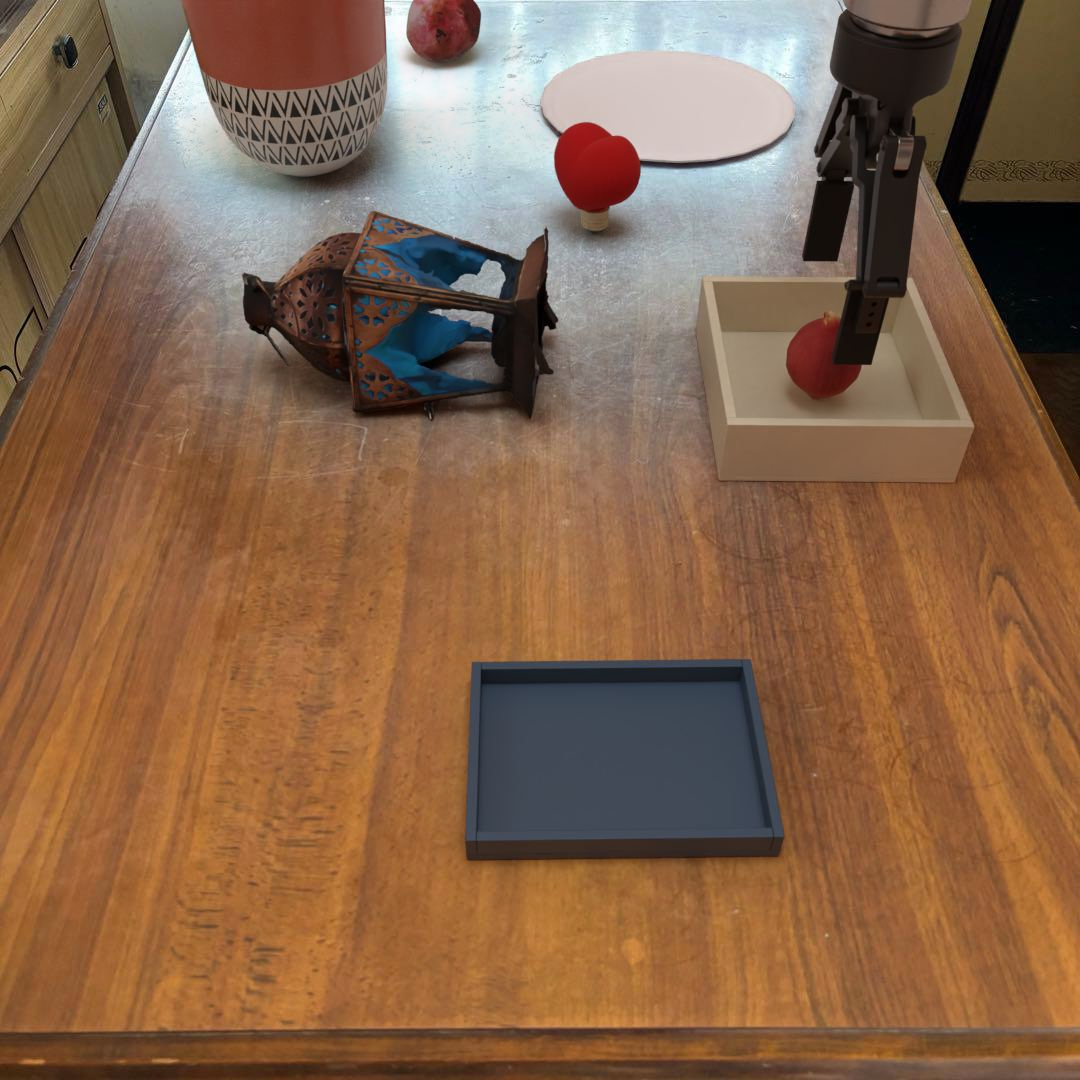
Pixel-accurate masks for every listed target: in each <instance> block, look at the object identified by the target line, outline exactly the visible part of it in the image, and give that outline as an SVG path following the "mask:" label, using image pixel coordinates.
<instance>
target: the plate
mask: <svg viewBox="0 0 1080 1080" xmlns="http://www.w3.org/2000/svg"><path fill="white" fill-rule="evenodd" d="M542 90H543V91H542V94H541V97H540V101H539V102H540V107H541V110H542V113H543V116H544V118H545V120H546V121H547V122H548V123H549V124H550V125H551V126H552V127H553V128H554V130H556V131H557V132H558V133H559V134H561V135H562V134H563V133H564V132H565V130H566V129H568V128H569V127H571V126H573V125H574V124H578V123H582V122H591V123H595V124H597V125H599V126H601V127H602V128H604V129H605V130H606V131H608V132H609V133H610V134H611V135H612V136H623V137H625V138H626V139H628V140H629V141H630V142H631V143H632V145H633V146H634V148H635V149H636V151H637V154H638V157H639V160H640V162H641V161H642V162H653V163H654V162H655V163H657V162H658V163H672V164H673V163H674V164H684V163H699V162H701V163H702V162H703V163H704V162H714V161H718V160H725V159H729V158H734V157H739V156H744V155H747V154H750V153H751V152H754V151H756V150H759V149H761V148H764V147H766V146H770V145H771V144H773V143H774V142H775V141H776V140H778V139H779V138H781V137H782V136H783V135H784V134H786V133H787V132H788V130H789V129H790V127H791V125H792V123H793V122H794V120H795V118H796V110H795V109H796V108H795V101H794V99H793V98H792V96H791V95H790V93H789V92H788V90H787V89H786V87H785V86H783V85H782V84H781V83H779V82H778V81H777V80H775V79H774V78H773V77H771V75H769V74H767V73H765V72H762V71H760V70H759V69H756V68H754V67H752V66H749V65H747V64H745V63H742V62H738V61H735V60H731V59H728V58H724V57H721V56H717V55H711V54H705V53H699V52H693V51H682V50H663V49H662V50H661V49H653V50H632V51H623V52H618V53H611V54H606V55H600V56H597V57H593V58H590V59H588V60H584V61H582V62H577V63H575V64H573V65H572V66H570V67H568V68H566V69H565V70H562V71H560V72H558V73H556V75H554V77H553V78H552V79H551V80H550V81H549V82H548V83H547V84H546V85H545V86H544V87H543V89H542Z"/></svg>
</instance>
